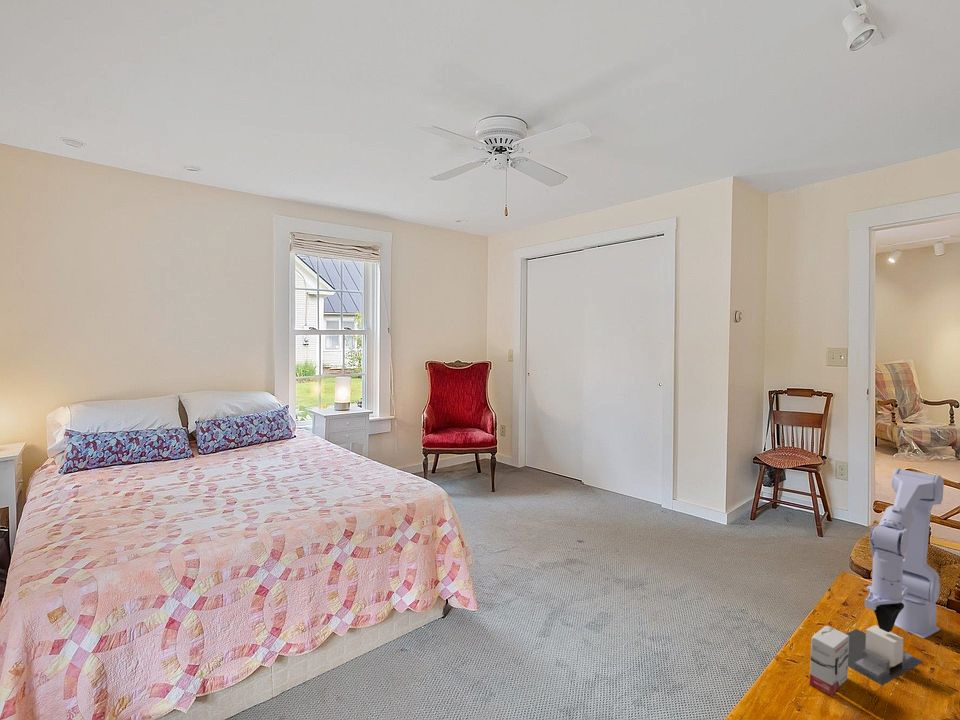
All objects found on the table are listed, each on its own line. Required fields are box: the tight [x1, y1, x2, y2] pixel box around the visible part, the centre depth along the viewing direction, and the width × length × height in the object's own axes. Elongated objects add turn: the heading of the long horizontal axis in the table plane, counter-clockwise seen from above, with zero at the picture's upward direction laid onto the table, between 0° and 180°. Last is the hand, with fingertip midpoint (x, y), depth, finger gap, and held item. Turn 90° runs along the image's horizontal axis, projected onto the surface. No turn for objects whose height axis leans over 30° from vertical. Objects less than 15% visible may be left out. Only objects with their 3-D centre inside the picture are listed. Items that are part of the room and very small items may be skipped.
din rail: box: [846, 628, 924, 686], centre depth 127 cm, size 18×15×4 cm
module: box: [865, 624, 904, 667], centre depth 124 cm, size 4×6×6 cm, turn 25°
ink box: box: [808, 625, 849, 697], centre depth 118 cm, size 8×5×12 cm, turn 123°
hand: (885, 629), depth 123 cm, fingers closed
